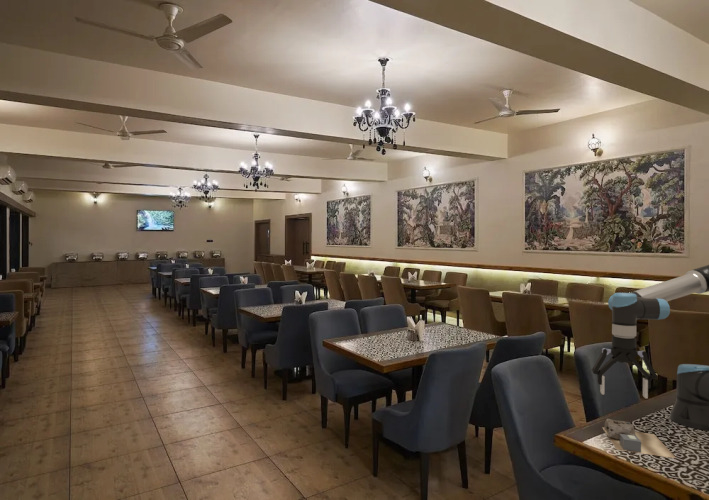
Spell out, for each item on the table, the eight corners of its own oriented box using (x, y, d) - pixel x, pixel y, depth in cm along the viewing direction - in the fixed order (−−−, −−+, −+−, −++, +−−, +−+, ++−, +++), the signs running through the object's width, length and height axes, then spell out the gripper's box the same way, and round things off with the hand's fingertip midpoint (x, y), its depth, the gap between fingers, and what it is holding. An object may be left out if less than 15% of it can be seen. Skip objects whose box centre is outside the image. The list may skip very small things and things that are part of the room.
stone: (604, 417, 169) (635, 420, 163) (605, 433, 167) (636, 437, 162) (601, 421, 158) (634, 425, 152) (602, 438, 157) (635, 443, 151)
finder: (635, 446, 151) (636, 435, 151) (640, 452, 146) (641, 440, 146) (619, 443, 153) (619, 432, 153) (623, 449, 148) (624, 438, 148)
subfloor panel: (654, 436, 162) (654, 434, 162) (676, 460, 143) (676, 458, 143) (602, 429, 167) (602, 427, 167) (616, 451, 148) (616, 449, 148)
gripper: (660, 336, 160) (659, 395, 160) (583, 332, 167) (582, 388, 167) (668, 340, 152) (667, 402, 152) (587, 335, 160) (587, 395, 160)
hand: (623, 395), depth 160 cm, fingers open, 13 cm apart
